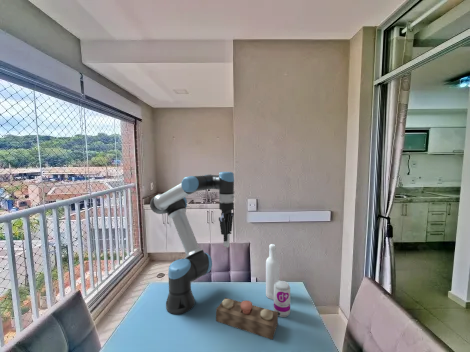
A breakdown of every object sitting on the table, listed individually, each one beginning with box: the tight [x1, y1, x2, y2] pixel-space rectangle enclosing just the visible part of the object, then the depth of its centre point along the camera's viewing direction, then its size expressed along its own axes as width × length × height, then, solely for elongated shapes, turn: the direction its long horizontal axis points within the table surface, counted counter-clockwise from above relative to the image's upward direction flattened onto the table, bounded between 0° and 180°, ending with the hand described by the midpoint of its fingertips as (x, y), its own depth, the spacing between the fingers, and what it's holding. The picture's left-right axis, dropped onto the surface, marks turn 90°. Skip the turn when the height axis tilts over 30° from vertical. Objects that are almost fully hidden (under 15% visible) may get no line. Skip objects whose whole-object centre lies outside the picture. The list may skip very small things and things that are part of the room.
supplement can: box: [273, 280, 291, 318], centre depth 112 cm, size 8×8×15 cm
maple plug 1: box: [222, 298, 234, 309], centre depth 109 cm, size 6×6×7 cm
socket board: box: [215, 297, 279, 340], centre depth 105 cm, size 28×10×6 cm, turn 66°
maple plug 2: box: [261, 308, 273, 321], centre depth 101 cm, size 6×6×7 cm
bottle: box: [265, 243, 280, 301], centre depth 125 cm, size 8×8×30 cm
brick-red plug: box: [240, 300, 253, 315], centre depth 105 cm, size 6×6×7 cm
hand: (226, 246), depth 114 cm, fingers closed
